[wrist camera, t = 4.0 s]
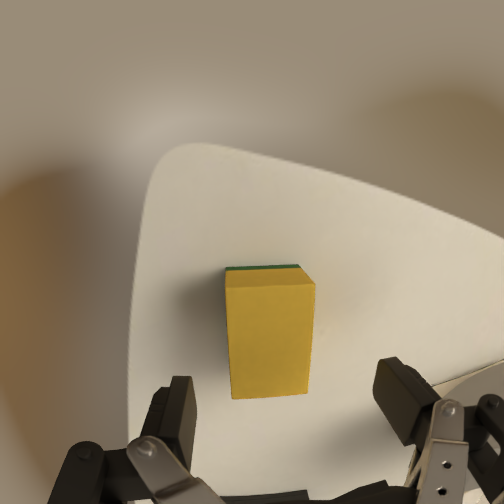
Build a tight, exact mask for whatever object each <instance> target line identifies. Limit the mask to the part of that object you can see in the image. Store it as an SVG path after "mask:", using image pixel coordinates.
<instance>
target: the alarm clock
mask: <svg viewBox="0 0 504 504" xmlns="http://www.w3.org/2000/svg"><path fill="white" fill-rule="evenodd" d="M432 388H433V389H434V390H435V391H436V392H437V393H438V394H439V396H440V397H441V398H442V399H453V400H456V401H458V402H460V403H461V404H462V406H463V407H465V406H473V405H477V403H478V401H479V399H480V397H481V396H483V395H485V394H495V395H498V396H500V397H501V398H502V399H503V400H504V360H501V361H499V362H497V363H495V364H492V365H490V366H488V367H485V368H483V369H480V370H478V371H475V372H473V373H470V374H467V375H465V376H462V377H459V378H457V379H454V380H451V381H448V382H445V383H442V384H439V385H436V386H433V387H432ZM487 441H488V443H489V444H490V445H491V446H492V448H493V449H494V450H495V452H496V453H497V454H498V456H499V454H500V446H499V444H498V443H497V441H496V440H495V439H494V438H493V437H492V435H490V437H489V438H488V440H487ZM412 457H413V456H412ZM411 460H412V459H411ZM410 464H411V462H410ZM410 464H409V467H410ZM478 488H480V487H479V485H478V484H477V482H476V480H475V479H474V477H473V476H472V474H471V473H470V471H469V469H468V468H467V474H466V482H465V489H464V492H465V491H469V490H474V489H478Z"/></svg>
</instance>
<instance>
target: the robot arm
mask: <svg viewBox="0 0 504 504" xmlns="http://www.w3.org/2000/svg"><path fill="white" fill-rule="evenodd" d="M373 396H374V399H375V401H376V402H377V404H378V405H379V407H380V409H381V410H382V412H383V413H384V415H385V416H386V418H387V420H388V421H389V423H390V424H391V426H392V428H393V429H394V431H395V432H396V434H397V435H398V437H399V439H400V440H401V442H402V443H403V445H404V447H405V446H408V445H411V444H415V445H416V448H415V450H414V453H413V457H412V460H411V464H410V467H409V471H408V474H407V477H406V481H405V483H404V486H388V484H387V482H386V480H382V481H379V482H376V483H372V484H369V485H365V486H362V487H358V488H356V489H354V490H352V491H350V492H348V493H346V494H344V495H342V496H339V497H337V498H335V499H332V500H290V501H282V502H272V503H266V504H462V502H463V496H464V489H465V482H466V474H467V468H468V469H469V471H470V473H471V474H472V476H473V477H474V479H475V480H476V482H477V484H478V485H479V487H480V488H481V490H482V492H483V493H484V495H485V496H486V498H487V500H488V501H489V503H490V504H504V400H503V399H502V398H501V397H500V396H498V395H495V394H485V395H483V396H481V397H480V399H479V401H478V403H477V405H473V406H465V407H463V406H462V404H461V403H460V402H458V401H456V400H453V399H442V398H441V397H440V396H439V394H438V393H437V392H436V391H435V390H434V389H433V388H432V387H431V386H430V385H429V384H428V382H427V383H426V380H425V379H424V378H423V377H421V375H420V374H419V373H418V372H417V371H416V370H415V369H413V368H412V367H410V366H408V365H404V364H403V363H402V362H401V361H400V360H399V359H398V358H397V357H390V358H385V359H381V360H379V362H378V365H377V370H376V375H375V379H374V384H373ZM196 420H197V405H196V399H195V393H194V387H193V381H192V377H191V376H173V377H172V381H171V384H170V387H161V388H160V389H159V390H158V391H157V392H156V393H155V394H154V395H153V398H152V401H151V404H150V407H149V411H148V413H147V416H146V419H145V422H144V425H143V428H142V431H141V434H140V437H138V438H136V439H134V440H132V441H131V442H130V443H129V444H128V446H127V448H124V449H119V450H109V451H103V449H102V448H101V446H100V445H98V444H96V443H94V442H90V441H83V442H79V443H77V444H75V445H73V446H72V447H71V448H70V449H69V451H68V454H67V456H66V458H65V460H64V463H63V465H62V467H61V470H60V473H59V475H58V477H57V480H56V482H55V485H54V487H53V490H52V493H51V495H50V498H49V501H48V503H47V504H127V501H134V500H143V499H151V500H152V502H153V503H154V504H226V503H225V502H224V501H223V500H222V499H221V498H220V497H219V496H218V495H217V494H216V493H215V492H214V491H213V490H212V489H211V488H210V487H209V486H208V485H207V484H206V483H205V482H204V481H203V480H202V479H200V478H198V477H197V478H194V477H193V476H192V475H191V474H190V469H191V460H192V452H193V443H194V435H195V427H196ZM490 435H492V437H493V438H494V439H495V440H496V441H497V443H498V444H499V446H500V454H499V456H498V454H497V453H496V452H495V450H494V449H493V448H492V446H491V445H490V444H489V443H488V441H487V440H488V438H489V437H490Z"/></svg>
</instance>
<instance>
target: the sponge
mask: <svg viewBox="0 0 504 504" xmlns="http://www.w3.org/2000/svg"><path fill="white" fill-rule="evenodd" d="M314 302H315V283H314V282H313V281H312V280H311V279H310V277H309V276H308V275H307V274H306V273H305V272H304V271H303V270H302V268H301V267H300V266H299V265H298V264H296V265H272V266H246V267H226V273H225V303H226V321H227V338H228V354H229V368H230V382H231V396H232V399H251V398H266V397H278V396H289V395H298V394H307V393H308V384H309V373H310V362H311V350H312V336H313V320H314Z"/></svg>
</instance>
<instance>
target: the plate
mask: <svg viewBox="0 0 504 504" xmlns="http://www.w3.org/2000/svg"><path fill="white" fill-rule="evenodd" d="M483 495H484V493H483V492H482V490H481V488H478V489H474V490H469V491H465V492H464V496H463V502H462V504H477V503H478V501H479V500H480V499H481V497H482V496H483Z"/></svg>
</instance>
